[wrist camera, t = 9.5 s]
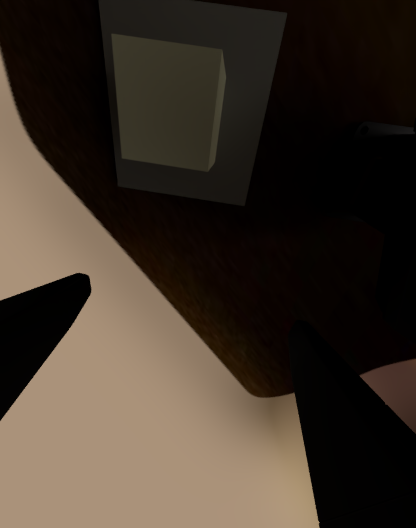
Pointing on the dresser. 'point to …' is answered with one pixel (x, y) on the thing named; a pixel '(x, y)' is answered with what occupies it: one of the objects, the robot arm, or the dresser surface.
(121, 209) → the dresser surface
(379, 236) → the dresser surface
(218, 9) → the mat
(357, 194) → the robot arm
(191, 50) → the cube
